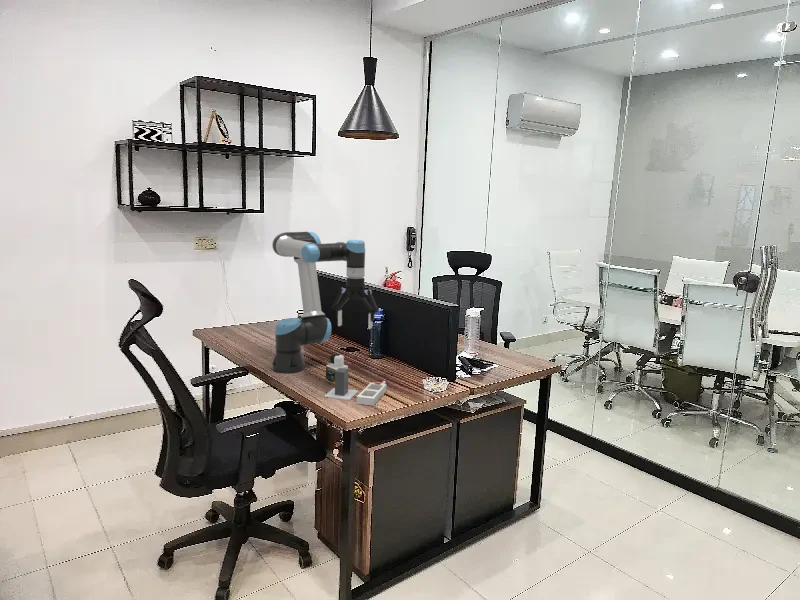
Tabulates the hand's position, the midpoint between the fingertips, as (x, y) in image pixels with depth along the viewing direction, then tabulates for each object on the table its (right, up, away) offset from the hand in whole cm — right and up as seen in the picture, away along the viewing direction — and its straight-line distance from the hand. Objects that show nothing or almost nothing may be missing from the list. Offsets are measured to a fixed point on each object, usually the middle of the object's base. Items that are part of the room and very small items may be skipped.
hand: (354, 326), depth 236 cm
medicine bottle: (-9, -25, +12) cm, 29 cm away
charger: (-5, -27, -4) cm, 28 cm away
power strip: (+9, -28, -2) cm, 29 cm away
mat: (-5, -28, -4) cm, 29 cm away
